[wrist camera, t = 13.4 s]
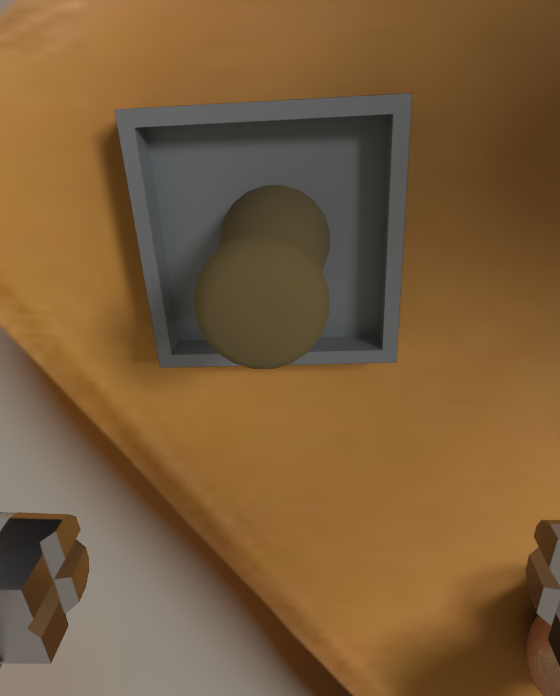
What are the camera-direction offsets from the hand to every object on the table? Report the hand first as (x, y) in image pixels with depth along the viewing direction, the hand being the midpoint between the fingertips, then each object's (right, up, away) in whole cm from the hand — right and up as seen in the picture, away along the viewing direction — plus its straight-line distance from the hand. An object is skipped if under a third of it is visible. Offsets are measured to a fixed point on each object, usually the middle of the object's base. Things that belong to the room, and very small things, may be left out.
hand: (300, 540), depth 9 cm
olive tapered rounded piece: (-1, +9, +19) cm, 21 cm away
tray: (-1, +10, +19) cm, 21 cm away
